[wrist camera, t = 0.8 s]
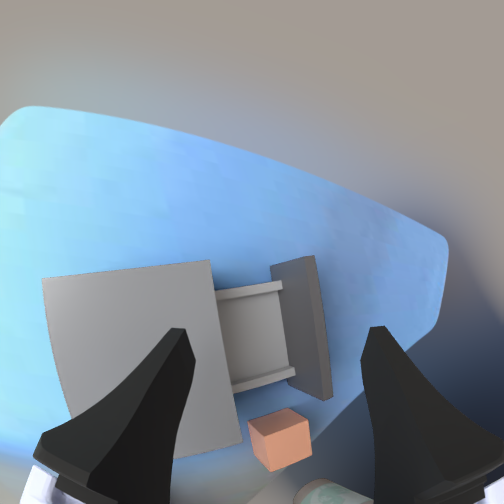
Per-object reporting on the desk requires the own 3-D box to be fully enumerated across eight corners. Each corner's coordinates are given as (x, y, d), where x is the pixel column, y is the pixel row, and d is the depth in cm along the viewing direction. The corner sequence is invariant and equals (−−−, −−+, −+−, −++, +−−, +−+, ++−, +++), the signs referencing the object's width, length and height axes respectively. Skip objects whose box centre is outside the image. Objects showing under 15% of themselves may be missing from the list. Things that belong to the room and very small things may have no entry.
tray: (296, 381, 26) (333, 396, 20) (189, 411, 21) (204, 441, 16) (278, 264, 27) (314, 255, 22) (163, 280, 23) (170, 273, 17)
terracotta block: (291, 440, 25) (312, 454, 21) (254, 454, 23) (270, 472, 19) (287, 407, 25) (308, 419, 22) (246, 420, 24) (263, 436, 20)
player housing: (215, 409, 23) (243, 442, 16) (101, 427, 18) (92, 467, 12) (190, 271, 24) (209, 259, 18) (68, 284, 20) (41, 278, 13)
